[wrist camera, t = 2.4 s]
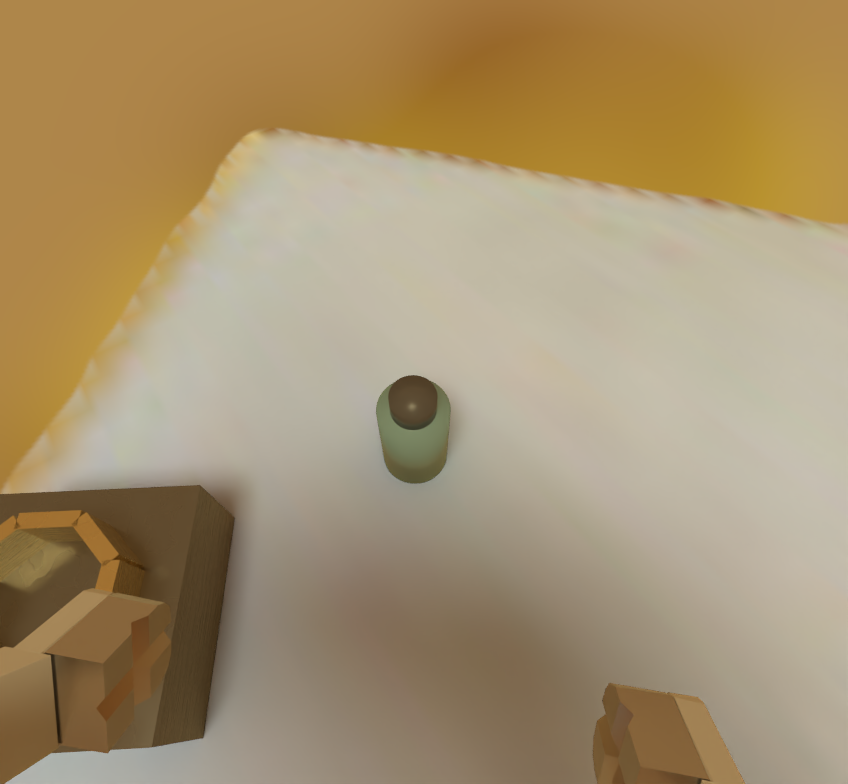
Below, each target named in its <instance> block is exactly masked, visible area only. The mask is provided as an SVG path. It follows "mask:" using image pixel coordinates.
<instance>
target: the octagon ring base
mask: <svg viewBox="0 0 848 784" xmlns="http://www.w3.org/2000/svg"><path fill="white" fill-rule="evenodd" d="M234 519H235V518H234V517H233V516H232V515H231V514H230V513H229V512H228V511H227V510H226V509H225V508H224V507H223V506H222V505H221V504H219V503H218V502H217V501H216V500H215V499H214V498H213V497H212V496H211V495H210V494H209V493H208V492H207V491H206V490H205V489H204V488H202V487H201V486H200V485H195V486H173V487H151V488H129V489H108V490H86V491H64V492H42V493H20V494H0V648H3V647H11V648H14V647H15V646H16V645H18V644H19V643H20V642H21V641H23V640H24V639H25V638H26V637H27V636H29V635H30V634H31V633H32V632H33V631H35V630H36V629H37V628H38V627H40V626H41V625H42V624H43V623H44V622H46V621H47V620H48V619H49V618H51V617H52V616H53V615H54V614H55V613H57V612H58V611H59V610H60V609H61V608H63V607H64V606H65V605H66V604H68V603H69V602H70V601H71V600H72V599H74V598H75V597H76V596H77V595H79V594H80V593H81V592H82V591H84V590H88V589H91V588H94V589H99V590H104V591H108V592H113V593H121V594H126V595H131V596H135V597H140V598H145V599H150V600H155V601H159V602H164V603H166V604H167V605H169V606H170V614H171V622H170V623H169V624H168V626H167V627H166V628H165V629H164V632H165V633H166V635H167V636H168V638H169V639H170V641H171V656H170V661H169V666H168V668H167V671H166V673H165V675H164V677H163V679H162V682H161V684H160V685H159V686H158V688H157V689H156V691H155V692H154V693H153V695H152V696H151V697H150V698H148V699H146V700H145V701H143V702H141V703H139V704H137V705H135V706H134V720H133V721H132V722H131V724H130V725H129V726H128V728H127V729H126V730H125V732H124V733H123V734H122V736H121V737H120V738H119V739H118V741H117V742H116V743H115V745H114V746H113V747H112V749H111V750H114V749H132V748H149V747H156V746H162V745H167V744H173V743H178V742H184V741H189V740H195V739H200V738H203V735H204V728H205V721H206V714H207V707H208V700H209V693H210V686H211V679H212V672H213V665H214V658H215V651H216V644H217V637H218V630H219V623H220V616H221V609H222V603H223V596H224V589H225V582H226V575H227V568H228V561H229V554H230V547H231V540H232V533H233V526H234ZM79 751H91V750H86V749H80V748H74V747H68V746H62V745H59V748H58V749H57V750H55V751H53V752H52V753H61V752H79Z"/></svg>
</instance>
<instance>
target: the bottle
mask: <svg viewBox="0 0 848 784" xmlns="http://www.w3.org/2000/svg"><path fill="white" fill-rule="evenodd" d="M376 414H377V420H378V426H379V432H380V438H381V444H382V449H383V455H384V461H385V464H386V467H387V468H388V470H389V471H390V473H391V474H392V475H393V476H395V477H396V478H397V479H399V480H401V481H403V482H407V483H414V484H417V483H423V482H426V481H429V480H431V479H433V478H434V477H436V476H437V475H438V474H439V473H440V471H441V470H442V469H443V467H444V465H445V462H446V456H447V445H448V434H449V423H450V402H449V399H448V397H447V395H446V394H445V392H444V391H443V390H442V389H441V388H440V387H439V386H438V385H436V384H435V383H433V382H431V381H429V380H428V379H426V378H424V377H421V376H415V375H412V376H406V377H403V378H400V379H399V380H397V381H396V382H394V383H393V384H391V385H390V386H388V387H387V388H386V389H385V390H384V391H383V393H382V394H381V395H380V397H379V399H378V402H377V407H376Z"/></svg>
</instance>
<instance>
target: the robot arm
mask: <svg viewBox="0 0 848 784" xmlns="http://www.w3.org/2000/svg"><path fill="white" fill-rule="evenodd" d="M170 622H171V614H170V606H169V605H167V604H166V603H164V602H159V601H155V600H150V599H145V598H140V597H135V596H131V595H126V594H121V593H113V592H108V591H104V590H99V589H94V588H91V589H88V590H84V591H82V592H81V593H80V594H79V595H77V596H76V597H75V598H74V599H72V600H71V601H70V602H69V603H68V604H66V605H65V606H64V607H63V608H61V609H60V610H59V611H58V612H57V613H55V614H54V615H53V616H52V617H51V618H49V619H48V620H47V621H46V622H44V623H43V624H42V625H41V626H40V627H38V628H37V629H36V630H35V631H33V632H32V633H31V634H30V635H29V636H27V637H26V638H25V639H24V640H23V641H21V642H20V643H19V644H18V645H16V646H15V647H14V648H11V647H3V648H0V784H4V783H6V782H7V781H9V780H11V779H12V778H14V777H15V776H17V775H18V774H20V773H21V772H23V771H24V770H26V769H27V768H29V767H30V766H32V765H34V764H35V763H37V762H38V761H40V760H41V759H43V758H44V757H46V756H47V755H49V754H50V753H52V752H53V751H55V750H57V749H58V748H59V745H62V746H68V747H74V748H80V749H86V750H91V751H97V752H103V753H109V751H110V750H111V749H112V747H113V746H114V745H115V743H116V742H117V741H118V739H119V738H120V737H121V736H122V734H123V733H124V732H125V730H126V729H127V728H128V726H129V725H130V724H131V722H132V721H133V720H134V706H135V705H137V704H139V703H141V702H143V701H145V700H146V699H148V698H150V697H151V696H152V695H153V693H154V692H155V691H156V689H157V688H158V686H159V685H160V684H161V682H162V679H163V677H164V675H165V673H166V671H167V668H168V666H169V661H170V656H171V641H170V639H169V638H168V636H167V635H166V633H165V632H164V629H165V628H166V627H167V626H168V624H169V623H170ZM602 701H603V705H604V709H605V713H606V715H604V716H603V717H602V718H600V719H599V720H598V721H597V723H596V728H595V732H594V737H593V761H594V770H595V775H596V780H597V784H745V782H744V781H743V779H742V777H741V775H740V773H739V771H738V769H737V767H736V765H735V763H734V761H733V759H732V757H731V755H730V753H729V751H728V749H727V747H726V745H725V744H724V742H723V740H722V738H721V736H720V734H719V732H718V730H717V728H716V726H715V724H714V722H713V720H712V718H711V716H710V714H709V712H708V710H707V708H706V707H705V705H704V703H703V702H702V701H701V700H700V699H699V698H698V697H694V696H688V695H681V694H675V693H669V692H668V693H665V692H660V691H654V690H648V689H643V688H637V687H631V686H625V685H619V684H614V683H609V684H608V686H607V687H606V689H605V692H604V696H603V700H602Z"/></svg>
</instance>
